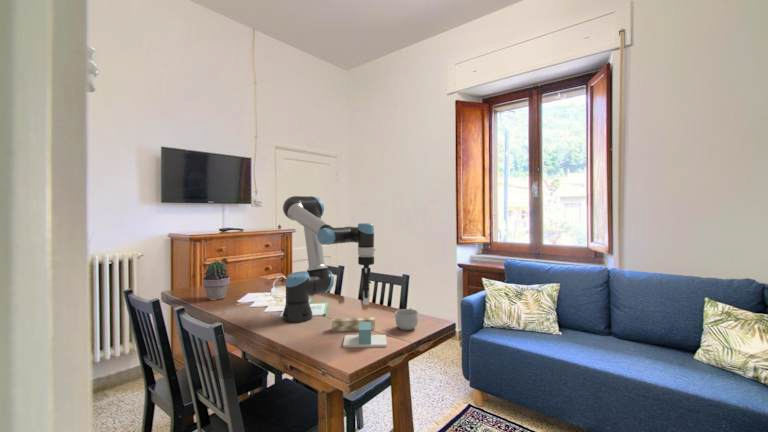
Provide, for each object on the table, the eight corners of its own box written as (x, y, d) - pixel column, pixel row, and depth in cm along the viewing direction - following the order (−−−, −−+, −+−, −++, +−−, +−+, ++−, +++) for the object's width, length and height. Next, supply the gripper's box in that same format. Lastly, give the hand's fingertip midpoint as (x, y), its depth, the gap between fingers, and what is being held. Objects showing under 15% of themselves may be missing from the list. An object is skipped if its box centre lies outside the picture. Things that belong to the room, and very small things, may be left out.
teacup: (411, 333, 158) (411, 316, 158) (390, 329, 164) (390, 312, 164) (424, 325, 170) (424, 308, 170) (404, 321, 176) (404, 305, 176)
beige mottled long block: (332, 332, 161) (332, 321, 161) (332, 329, 165) (332, 319, 164) (374, 329, 164) (374, 319, 164) (374, 327, 167) (374, 317, 167)
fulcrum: (343, 347, 143) (343, 330, 143) (345, 337, 154) (345, 321, 154) (386, 346, 143) (386, 330, 143) (385, 337, 154) (385, 321, 154)
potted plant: (191, 302, 210) (191, 261, 210) (212, 294, 230) (212, 256, 229) (218, 303, 207) (218, 262, 207) (237, 295, 227) (237, 257, 226)
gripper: (374, 259, 151) (374, 308, 152) (374, 252, 176) (374, 294, 176) (356, 259, 151) (357, 308, 151) (359, 252, 176) (359, 294, 176)
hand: (366, 300), depth 164 cm, fingers open, 13 cm apart
